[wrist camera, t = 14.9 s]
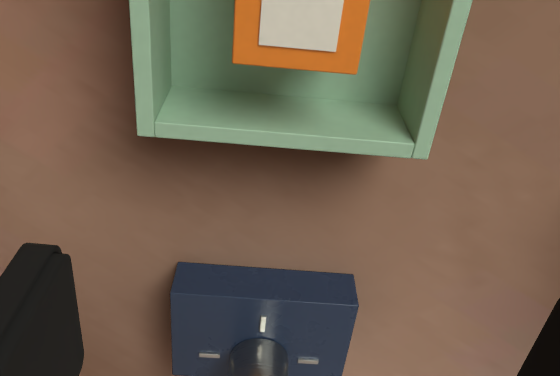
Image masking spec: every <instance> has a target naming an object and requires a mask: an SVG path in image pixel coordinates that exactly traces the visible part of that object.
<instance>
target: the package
mask: <svg viewBox="0 0 560 376" xmlns="http://www.w3.org/2000/svg"><path fill="white" fill-rule="evenodd" d="M369 5H370V0H235V3H234V25H233V47H232V63H233V64H241V65H252V66H263V67H274V68H285V69H296V70H307V71H318V72H329V73H340V74H351V75H356V74H357V72H358V66H359V61H360V55H361V50H362V44H363V39H364V33H365V28H366V22H367V16H368V11H369Z"/></svg>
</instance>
